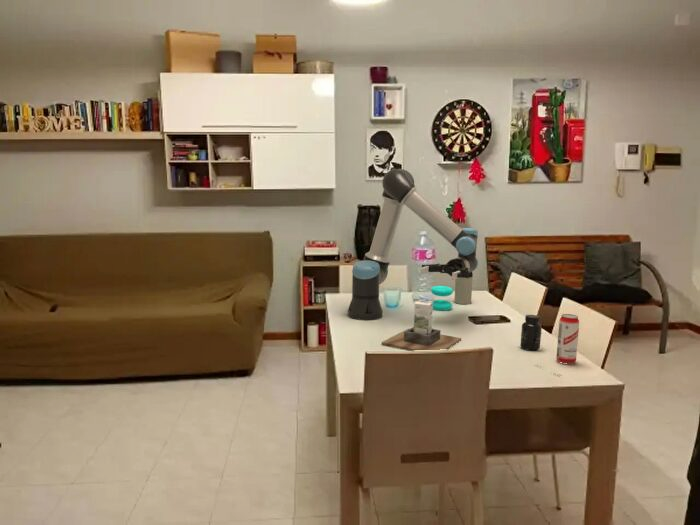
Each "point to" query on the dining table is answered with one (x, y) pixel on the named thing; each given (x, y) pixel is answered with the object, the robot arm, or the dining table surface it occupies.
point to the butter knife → (551, 372)
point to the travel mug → (463, 290)
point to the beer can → (567, 338)
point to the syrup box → (423, 317)
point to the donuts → (442, 291)
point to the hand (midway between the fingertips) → (436, 274)
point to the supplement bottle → (531, 333)
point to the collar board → (421, 340)
